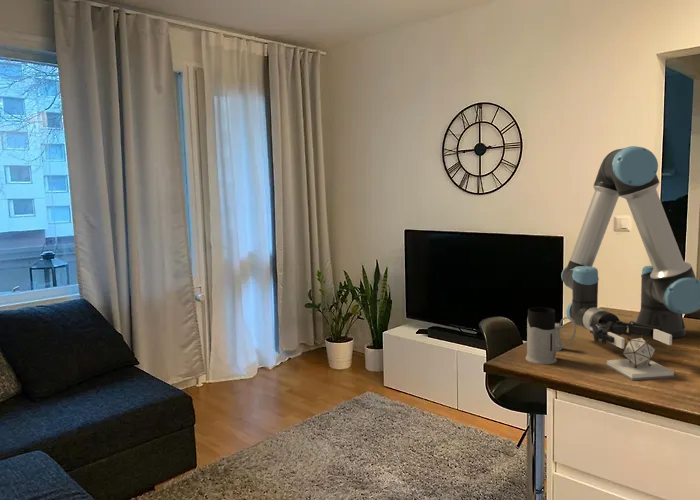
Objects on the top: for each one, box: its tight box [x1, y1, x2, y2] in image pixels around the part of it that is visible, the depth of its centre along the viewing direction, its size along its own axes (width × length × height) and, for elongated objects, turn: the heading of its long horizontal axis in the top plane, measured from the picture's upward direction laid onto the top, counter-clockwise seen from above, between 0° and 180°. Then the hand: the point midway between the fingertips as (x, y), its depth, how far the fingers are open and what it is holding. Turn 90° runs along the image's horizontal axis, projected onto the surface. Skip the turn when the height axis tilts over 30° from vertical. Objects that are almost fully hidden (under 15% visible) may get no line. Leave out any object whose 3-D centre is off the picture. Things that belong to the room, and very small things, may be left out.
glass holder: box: [525, 306, 577, 365], centre depth 159 cm, size 9×14×15 cm, turn 51°
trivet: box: [605, 358, 676, 381], centre depth 149 cm, size 12×12×2 cm
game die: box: [619, 335, 659, 369], centre depth 148 cm, size 9×8×10 cm
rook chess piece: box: [555, 322, 564, 352], centre depth 171 cm, size 4×4×8 cm
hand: (647, 341), depth 145 cm, fingers open, 13 cm apart
